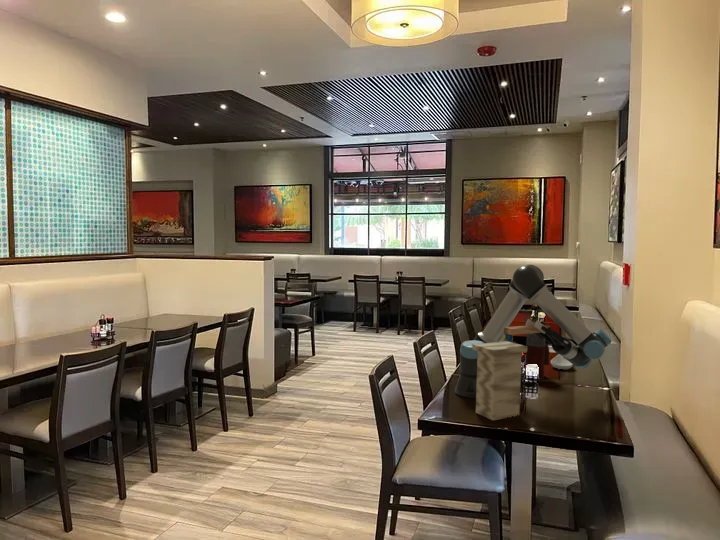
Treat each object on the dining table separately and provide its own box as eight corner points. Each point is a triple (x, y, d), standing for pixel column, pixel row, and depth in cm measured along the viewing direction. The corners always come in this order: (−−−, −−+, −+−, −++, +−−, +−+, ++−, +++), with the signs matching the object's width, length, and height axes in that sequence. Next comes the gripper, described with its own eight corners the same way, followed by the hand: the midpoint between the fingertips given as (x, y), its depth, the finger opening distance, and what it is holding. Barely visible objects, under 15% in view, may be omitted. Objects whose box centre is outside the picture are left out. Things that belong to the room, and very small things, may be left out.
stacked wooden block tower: (470, 412, 208) (472, 344, 207) (503, 406, 217) (505, 340, 215) (490, 422, 198) (493, 350, 196) (524, 415, 206) (527, 346, 205)
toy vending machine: (548, 380, 259) (550, 325, 257) (525, 377, 263) (527, 323, 261) (548, 376, 267) (550, 322, 266) (526, 373, 271) (528, 321, 270)
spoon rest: (572, 372, 276) (573, 359, 276) (549, 370, 281) (549, 357, 281) (574, 363, 298) (575, 351, 297) (552, 361, 303) (553, 349, 302)
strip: (503, 333, 207) (503, 327, 207) (542, 330, 218) (542, 324, 218) (510, 334, 204) (510, 328, 204) (549, 331, 214) (550, 326, 214)
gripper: (577, 359, 214) (544, 334, 203) (545, 351, 229) (512, 327, 218) (584, 343, 215) (551, 317, 205) (551, 336, 230) (519, 311, 220)
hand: (531, 322), depth 212 cm, fingers closed on strip, 4 cm apart
